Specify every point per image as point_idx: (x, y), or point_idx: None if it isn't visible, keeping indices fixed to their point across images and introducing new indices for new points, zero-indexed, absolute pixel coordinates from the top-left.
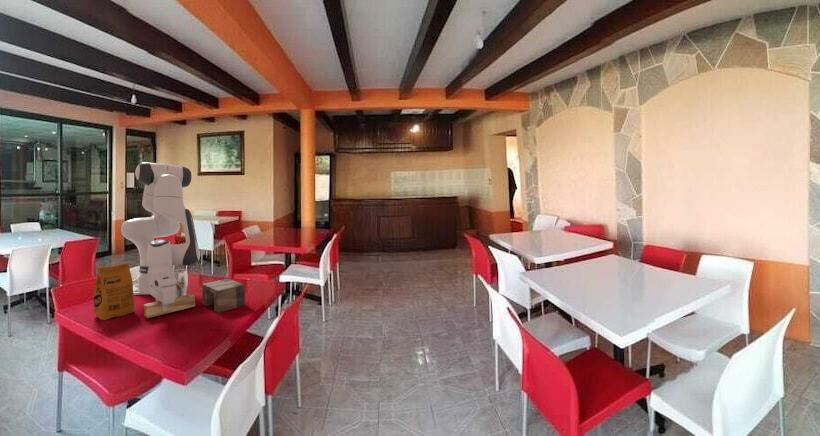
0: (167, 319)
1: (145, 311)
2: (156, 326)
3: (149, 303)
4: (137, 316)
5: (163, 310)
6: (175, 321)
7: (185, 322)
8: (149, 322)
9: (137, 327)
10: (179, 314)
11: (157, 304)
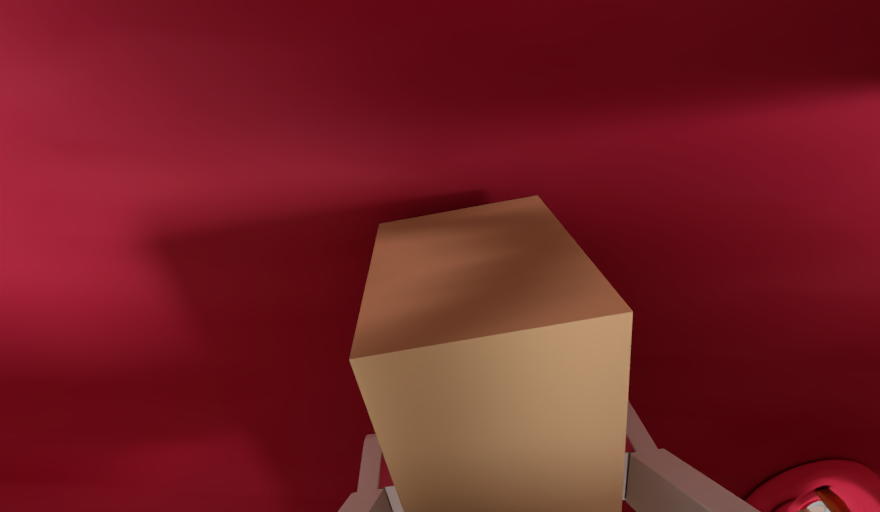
0: (272, 386)
1: (489, 246)
2: (43, 275)
3: (596, 409)
4: (685, 102)
5: (364, 445)
6: (152, 435)
7: (72, 492)
8: (270, 219)
9: (103, 46)
10: None
11: (404, 505)
